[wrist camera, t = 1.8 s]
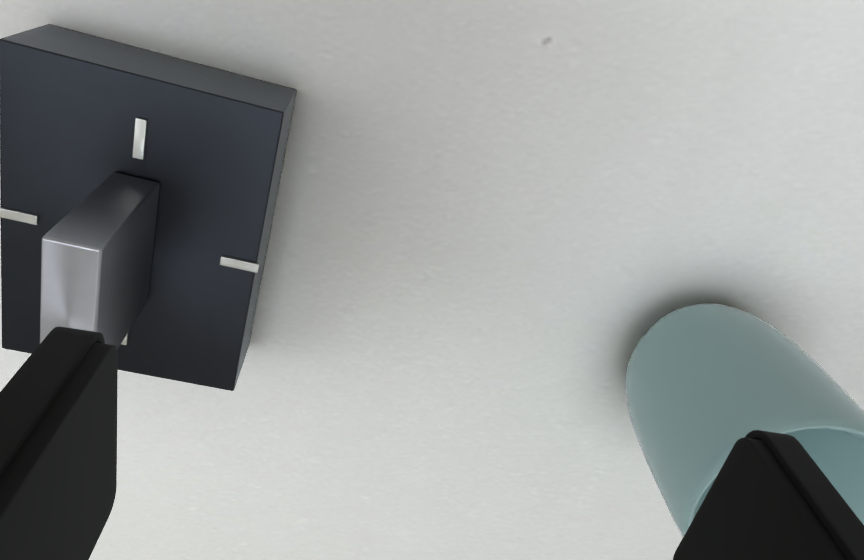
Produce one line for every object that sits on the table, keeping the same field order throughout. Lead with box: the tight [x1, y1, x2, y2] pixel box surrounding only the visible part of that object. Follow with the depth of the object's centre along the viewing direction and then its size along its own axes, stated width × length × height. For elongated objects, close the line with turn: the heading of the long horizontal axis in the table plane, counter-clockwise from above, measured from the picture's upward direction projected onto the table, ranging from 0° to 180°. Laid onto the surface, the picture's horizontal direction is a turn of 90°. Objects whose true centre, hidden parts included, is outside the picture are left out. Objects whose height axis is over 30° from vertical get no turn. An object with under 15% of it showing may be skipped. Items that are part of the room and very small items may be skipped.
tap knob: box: [40, 173, 160, 349], centre depth 22 cm, size 5×2×6 cm, turn 164°
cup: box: [625, 303, 864, 537], centre depth 28 cm, size 8×8×10 cm
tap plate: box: [0, 24, 297, 391], centre depth 26 cm, size 12×9×4 cm
